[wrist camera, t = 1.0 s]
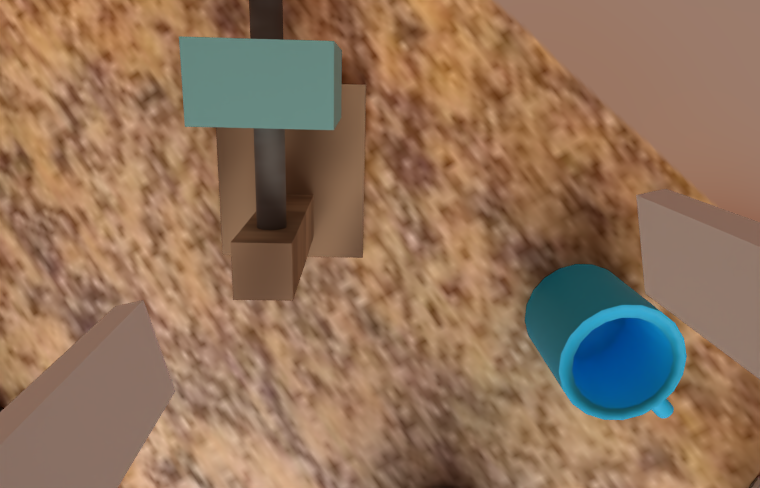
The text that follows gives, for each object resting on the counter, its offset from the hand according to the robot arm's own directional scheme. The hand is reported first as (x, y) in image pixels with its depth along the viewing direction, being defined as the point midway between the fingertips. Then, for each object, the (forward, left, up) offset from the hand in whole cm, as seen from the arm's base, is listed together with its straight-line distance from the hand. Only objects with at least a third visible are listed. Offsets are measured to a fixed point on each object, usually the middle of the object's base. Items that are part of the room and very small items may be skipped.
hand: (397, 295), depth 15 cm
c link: (-6, +5, -23) cm, 24 cm away
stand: (-6, +2, -27) cm, 27 cm away
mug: (+17, -13, -27) cm, 34 cm away
